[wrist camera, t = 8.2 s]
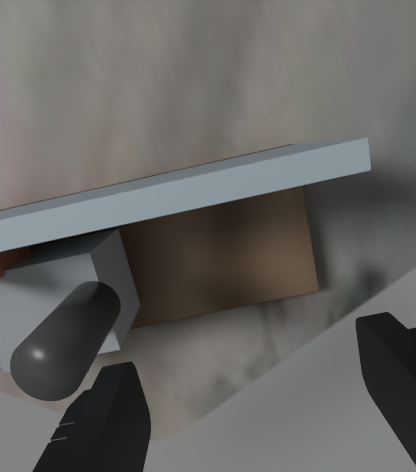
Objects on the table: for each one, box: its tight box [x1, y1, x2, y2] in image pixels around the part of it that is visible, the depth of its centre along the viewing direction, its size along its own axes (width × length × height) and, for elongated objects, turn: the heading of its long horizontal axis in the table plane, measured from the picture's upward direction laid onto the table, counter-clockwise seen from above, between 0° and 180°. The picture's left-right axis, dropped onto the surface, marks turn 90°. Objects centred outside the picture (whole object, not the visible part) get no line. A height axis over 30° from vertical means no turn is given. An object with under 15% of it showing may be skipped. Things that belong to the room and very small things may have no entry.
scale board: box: [0, 137, 371, 252], centre depth 16 cm, size 21×1×9 cm, turn 103°
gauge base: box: [0, 144, 319, 329], centre depth 22 cm, size 21×9×2 cm, turn 103°
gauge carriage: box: [0, 229, 141, 401], centre depth 16 cm, size 9×6×10 cm, turn 103°
